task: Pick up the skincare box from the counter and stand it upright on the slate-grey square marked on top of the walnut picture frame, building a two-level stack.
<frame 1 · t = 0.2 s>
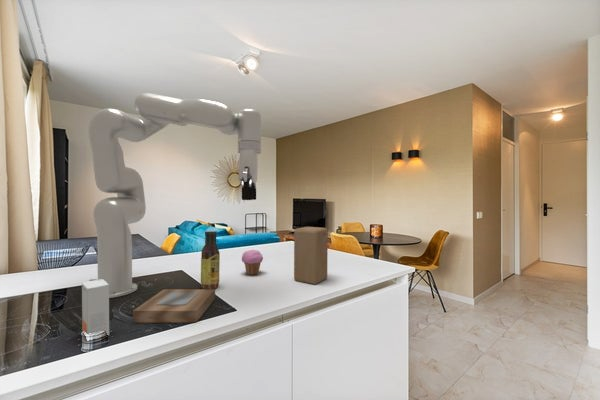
hand: (249, 199, 91), 31 cm above the countertop, tool pointing down, fingers open, 9 cm apart
cupcake: (252, 274, 114), on the countertop
sauce bottle: (210, 287, 97), on the countertop
skincare box: (95, 335, 63), on the countertop
walnut picture frame: (178, 309, 78), on the countertop
wooden block: (310, 280, 106), on the countertop
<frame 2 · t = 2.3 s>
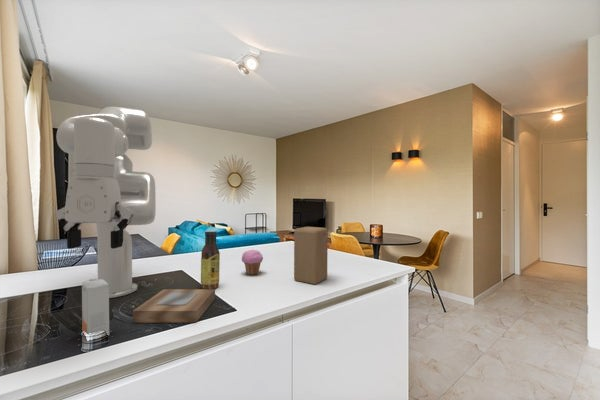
hand: (95, 247, 63), 20 cm above the countertop, tool pointing down, fingers open, 9 cm apart
nothing on the countertop moved.
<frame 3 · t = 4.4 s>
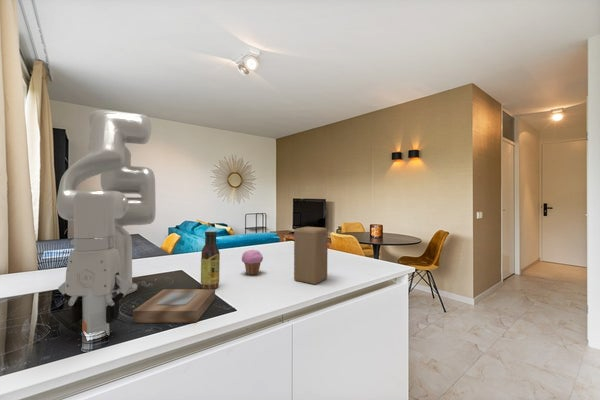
hand: (95, 320, 63), 3 cm above the countertop, tool pointing down, fingers closed on skincare box, 7 cm apart
skincare box: (95, 335, 63), on the countertop, touching gripper
everything else where it was.
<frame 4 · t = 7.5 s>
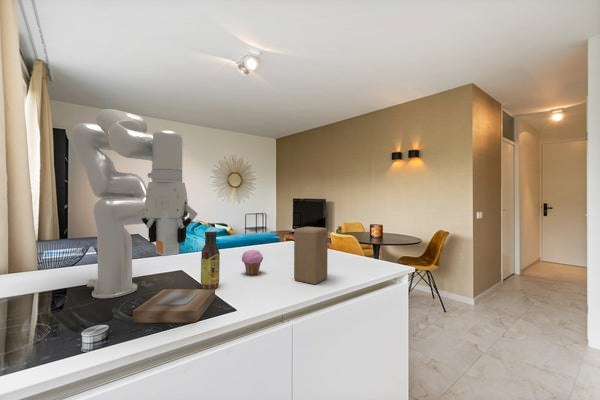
hand: (167, 241, 75), 20 cm above the countertop, tool pointing down, fingers closed on skincare box, 7 cm apart
skincare box: (167, 254, 75), point 16 cm above the countertop, touching gripper
everything else where it was.
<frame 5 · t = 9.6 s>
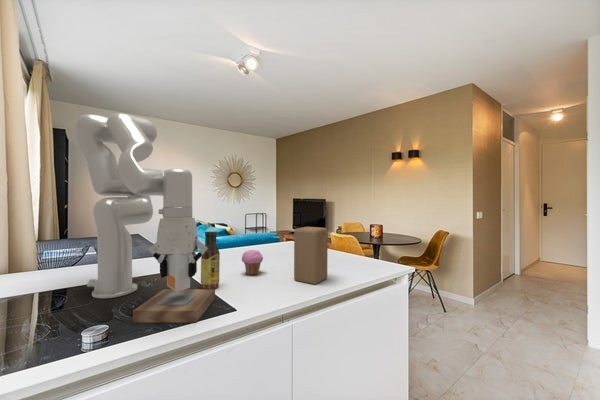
hand: (178, 275, 77), 10 cm above the countertop, tool pointing down, fingers closed on skincare box, 7 cm apart
skincare box: (178, 288, 77), point 6 cm above the countertop, touching gripper
everything else where it was.
when the fingers open (8 cm above the countertop, at t = 11.0 s): skincare box drops 1 cm, resting on walnut picture frame.
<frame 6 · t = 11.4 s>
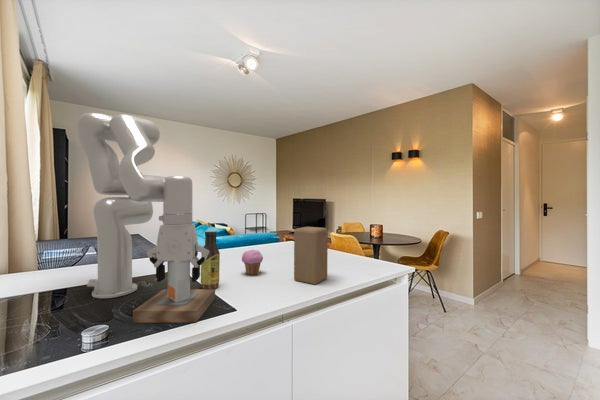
hand: (178, 280, 77), 8 cm above the countertop, tool pointing down, fingers open, 9 cm apart
skincare box: (178, 298, 78), point 3 cm above the countertop, touching walnut picture frame
everything else where it was.
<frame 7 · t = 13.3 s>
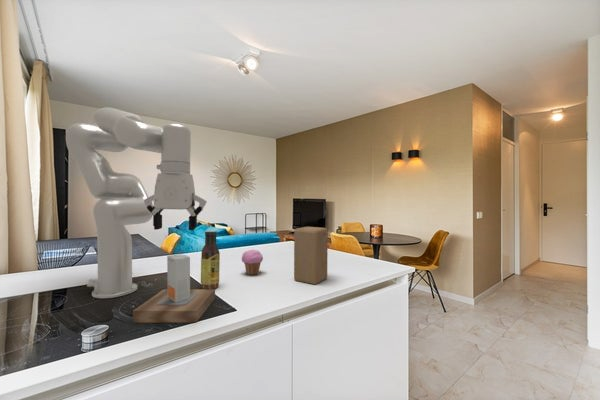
hand: (175, 229, 78), 23 cm above the countertop, tool pointing down, fingers open, 9 cm apart
nothing on the countertop moved.
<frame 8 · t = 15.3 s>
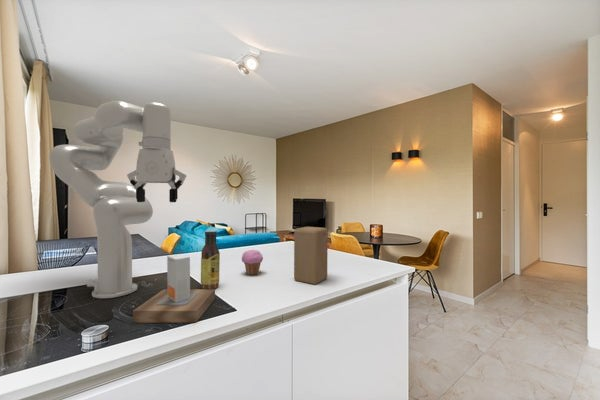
hand: (157, 202, 83), 30 cm above the countertop, tool pointing down, fingers open, 9 cm apart
nothing on the countertop moved.
at the end: skincare box 0.1 cm off-centre on the walnut picture frame, point 3.0 cm above the walnut picture frame's base; skincare box tilted 0°; the gripper is holding nothing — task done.
